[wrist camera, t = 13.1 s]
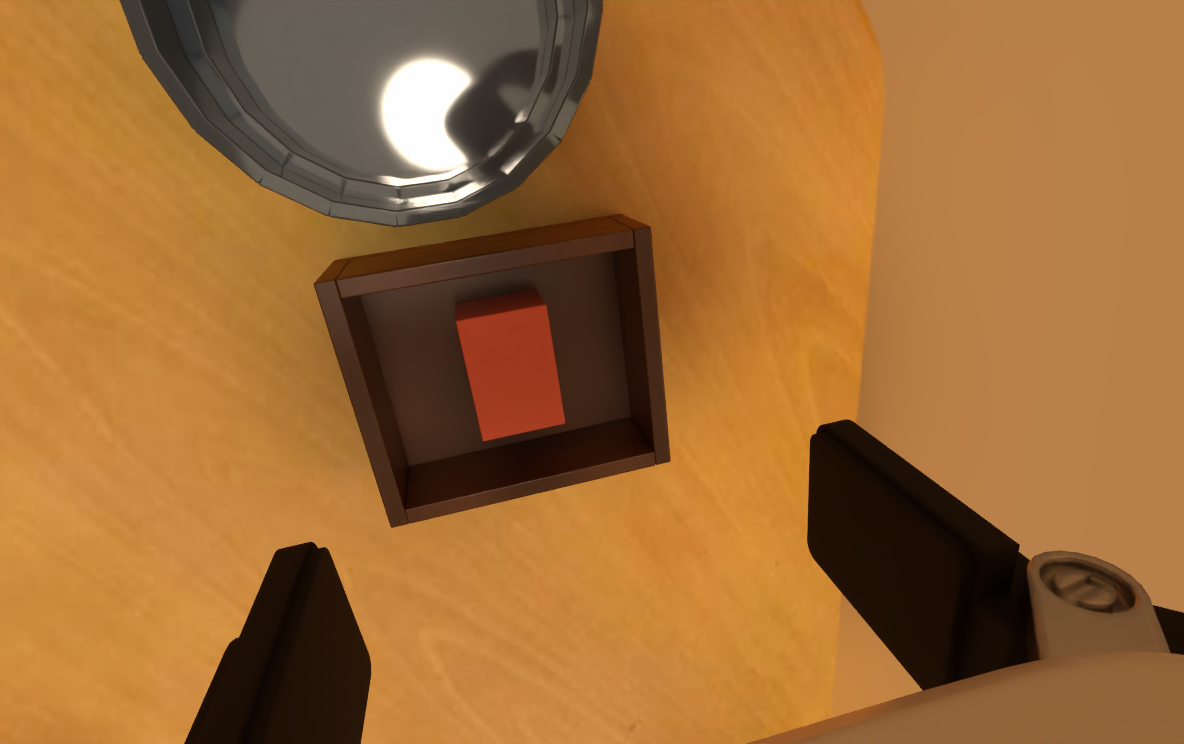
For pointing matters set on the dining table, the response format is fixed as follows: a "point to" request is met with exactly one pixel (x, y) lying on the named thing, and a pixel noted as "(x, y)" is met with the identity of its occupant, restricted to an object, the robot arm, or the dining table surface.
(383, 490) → the holder
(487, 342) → the block
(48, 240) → the dining table surface
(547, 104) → the bowl
